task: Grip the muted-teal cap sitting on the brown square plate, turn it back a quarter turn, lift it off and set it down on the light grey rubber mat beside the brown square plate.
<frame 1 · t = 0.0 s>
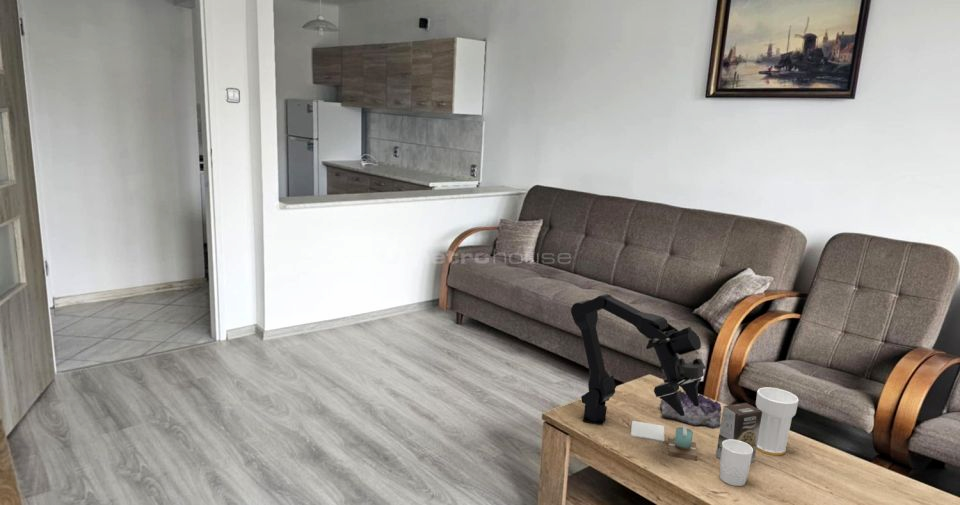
hand: (690, 410, 180), 15 cm above the table, fingers open, 9 cm apart
cap: (682, 443, 187), point 2 cm above the table, touching brown square plate
mat: (647, 431, 198), on the table
cup: (768, 448, 192), on the table
brown square plate: (681, 451, 187), on the table
coffee box: (734, 459, 184), on the table
white cup: (732, 480, 174), on the table
geode: (688, 419, 209), on the table
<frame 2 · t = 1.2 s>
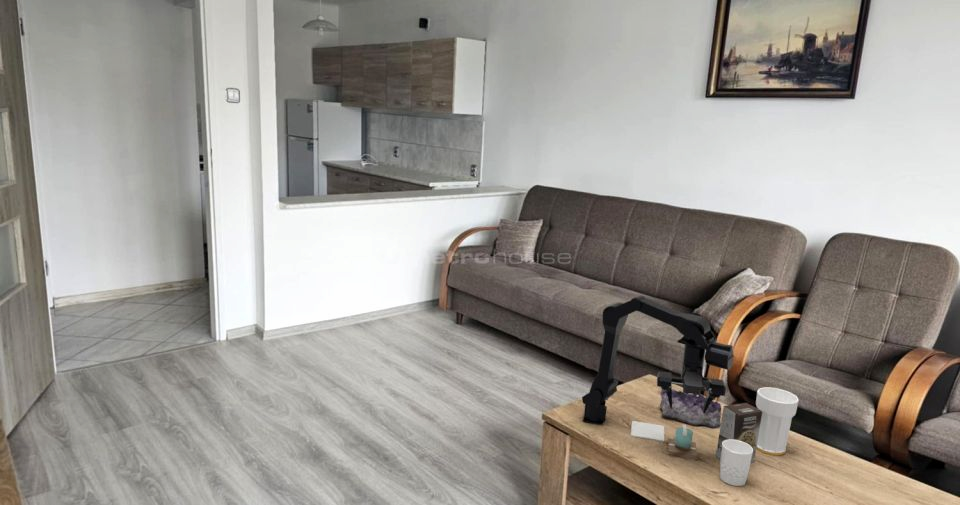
hand: (687, 410, 184), 13 cm above the table, fingers open, 9 cm apart
nothing on the table moved.
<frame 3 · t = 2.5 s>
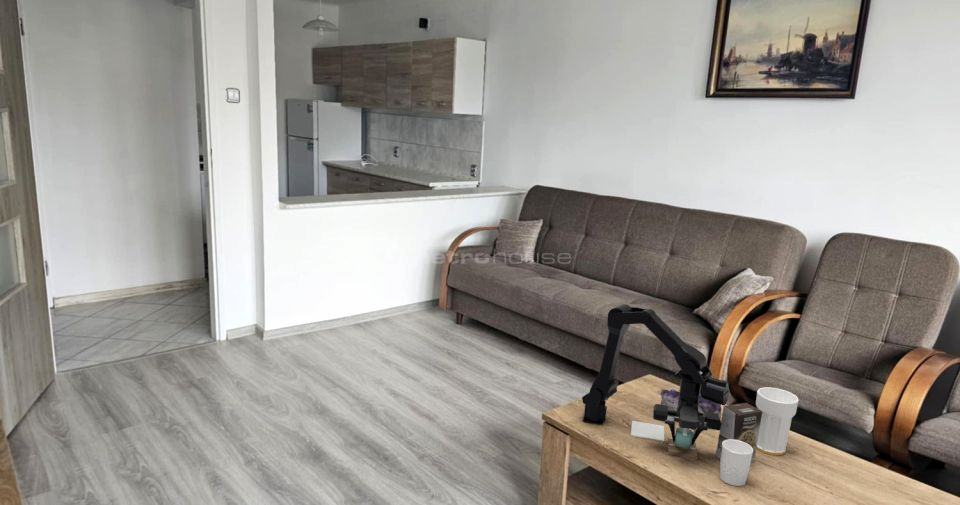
hand: (682, 443, 187), 3 cm above the table, fingers closed on cap, 5 cm apart
cap: (682, 443, 187), point 2 cm above the table, touching gripper, brown square plate
everything else where it was.
when the fingers open (3 cm above the table, at t = 7.8 s): cap drops 2 cm, resting on mat.
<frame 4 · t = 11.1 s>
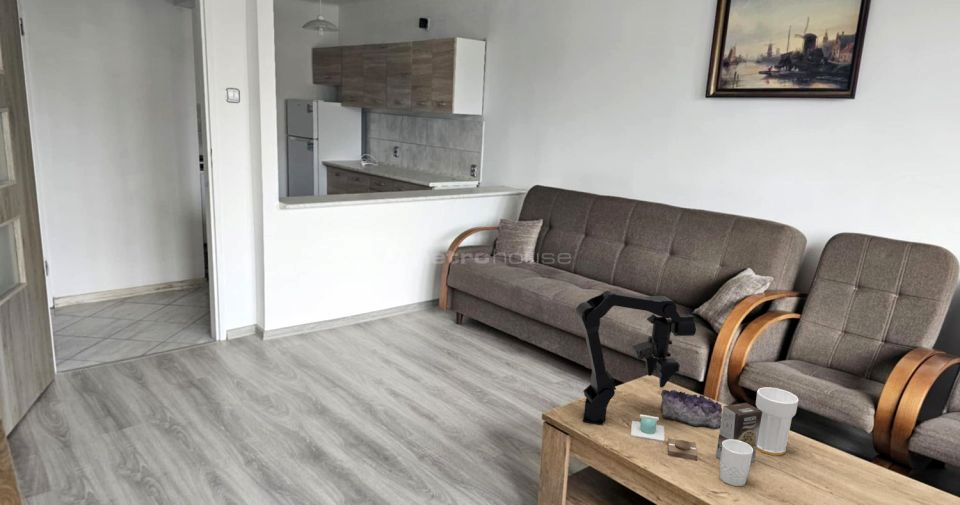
hand: (655, 381, 205), 13 cm above the table, fingers open, 9 cm apart
cap: (647, 430, 198), resting on mat
everything else where it was.
at the end: cap 0.0 cm from the mat (horizontally); cap resting on mat; cap tilted 0° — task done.
